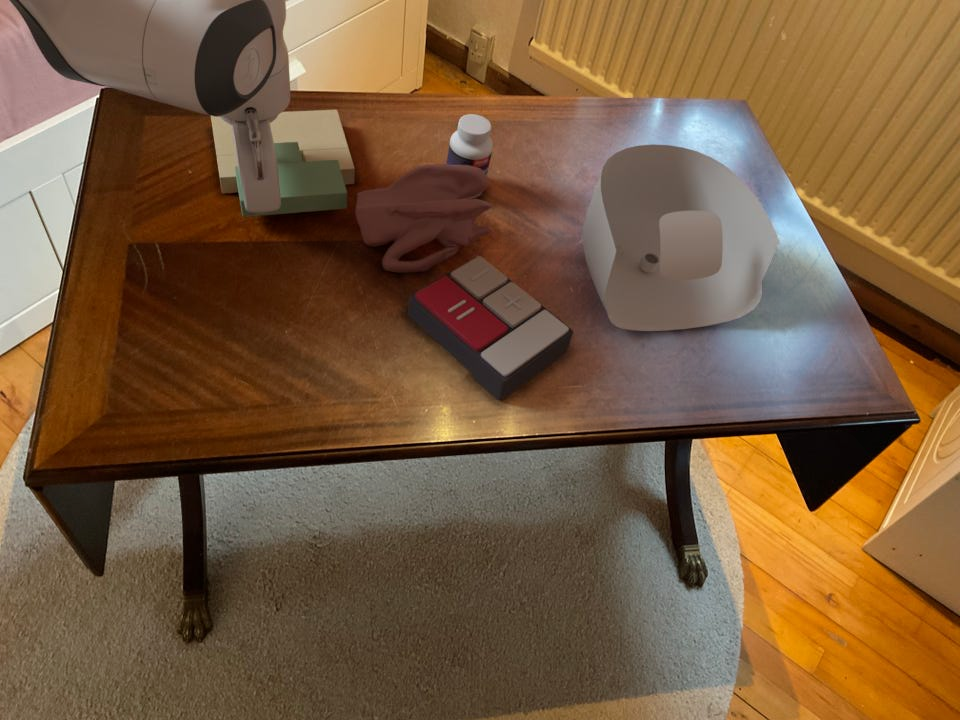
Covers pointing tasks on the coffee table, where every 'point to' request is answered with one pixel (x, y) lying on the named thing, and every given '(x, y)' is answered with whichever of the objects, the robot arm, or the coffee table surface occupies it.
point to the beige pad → (309, 128)
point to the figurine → (424, 214)
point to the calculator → (490, 326)
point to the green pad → (304, 183)
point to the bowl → (675, 240)
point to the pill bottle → (471, 143)
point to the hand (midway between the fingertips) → (256, 187)
